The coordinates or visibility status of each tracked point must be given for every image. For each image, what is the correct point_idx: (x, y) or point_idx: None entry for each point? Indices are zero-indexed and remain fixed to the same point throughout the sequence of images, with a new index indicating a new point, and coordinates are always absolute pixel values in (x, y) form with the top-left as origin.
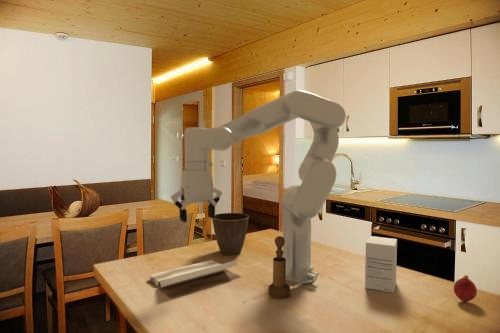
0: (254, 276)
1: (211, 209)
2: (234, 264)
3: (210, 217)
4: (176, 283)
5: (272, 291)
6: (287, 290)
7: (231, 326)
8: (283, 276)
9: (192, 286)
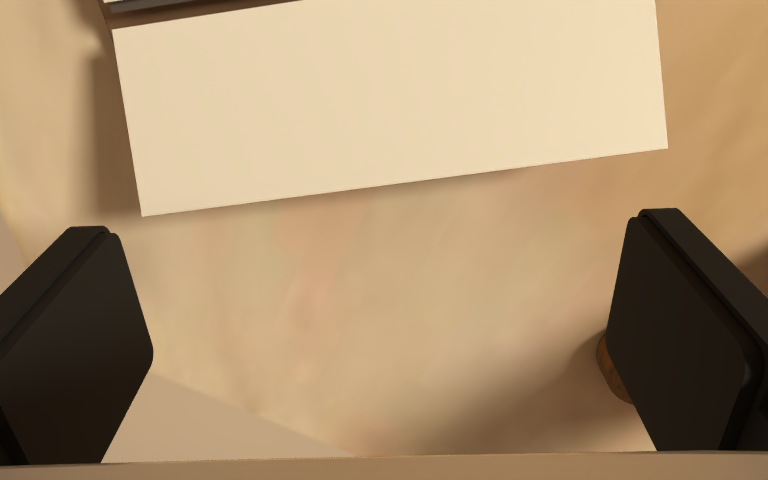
0: (735, 117)
1: (670, 443)
2: (630, 153)
3: (613, 296)
4: None
5: (606, 378)
6: None
7: (338, 438)
8: None
9: None
